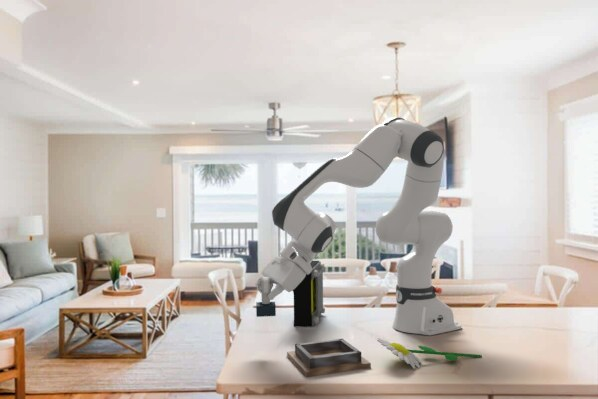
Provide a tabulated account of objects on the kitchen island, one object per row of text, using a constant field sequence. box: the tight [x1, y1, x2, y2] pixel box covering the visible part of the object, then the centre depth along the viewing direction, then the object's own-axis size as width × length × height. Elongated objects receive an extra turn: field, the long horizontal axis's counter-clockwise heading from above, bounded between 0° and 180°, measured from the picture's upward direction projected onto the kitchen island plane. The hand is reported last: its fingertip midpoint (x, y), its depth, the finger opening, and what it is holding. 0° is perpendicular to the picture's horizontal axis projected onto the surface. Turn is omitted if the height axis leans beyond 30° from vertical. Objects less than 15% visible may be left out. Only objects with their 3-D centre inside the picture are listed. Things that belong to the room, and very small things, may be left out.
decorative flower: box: [376, 337, 483, 370], centre depth 132 cm, size 13×5×30 cm
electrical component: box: [291, 260, 326, 328], centre depth 174 cm, size 18×10×20 cm, turn 168°
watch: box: [255, 276, 277, 318], centre depth 143 cm, size 6×8×11 cm
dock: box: [286, 338, 372, 378], centre depth 132 cm, size 18×16×4 cm
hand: (263, 294), depth 143 cm, fingers closed on watch, 8 cm apart
